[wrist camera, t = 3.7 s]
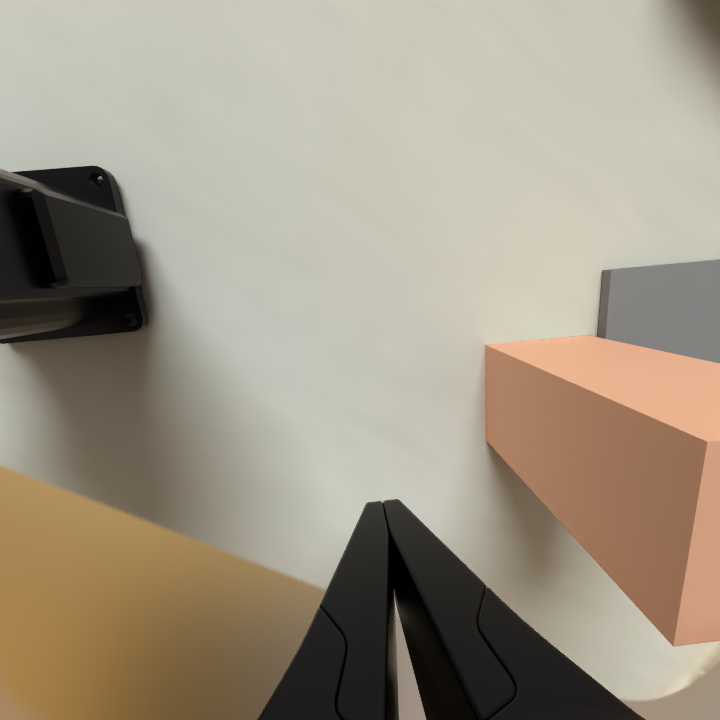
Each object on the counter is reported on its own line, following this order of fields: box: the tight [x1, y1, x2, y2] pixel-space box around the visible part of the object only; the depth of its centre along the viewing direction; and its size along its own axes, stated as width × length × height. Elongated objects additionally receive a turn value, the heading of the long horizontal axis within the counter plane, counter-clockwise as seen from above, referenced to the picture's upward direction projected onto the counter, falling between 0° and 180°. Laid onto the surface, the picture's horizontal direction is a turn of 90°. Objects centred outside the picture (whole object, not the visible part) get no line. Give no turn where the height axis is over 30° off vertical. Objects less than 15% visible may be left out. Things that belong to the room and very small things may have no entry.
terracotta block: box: [486, 335, 720, 647], centre depth 12 cm, size 5×5×10 cm
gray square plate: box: [598, 260, 720, 363], centre depth 17 cm, size 11×11×1 cm
